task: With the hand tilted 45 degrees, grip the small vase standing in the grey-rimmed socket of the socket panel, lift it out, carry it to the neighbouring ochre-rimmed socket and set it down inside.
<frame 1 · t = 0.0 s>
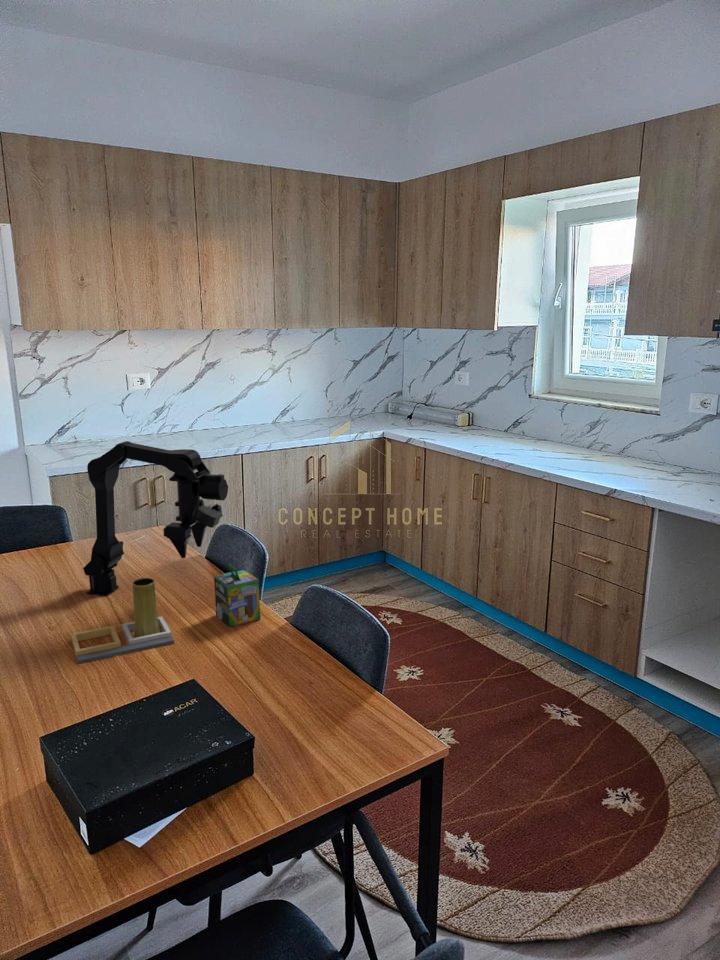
hand: (191, 552, 187), 15 cm above the table, tool pointing down, fingers open, 9 cm apart
vase: (146, 635, 171), resting in socket panel
chalk box: (237, 618, 182), on the table
socket panel: (121, 639, 168), on the table
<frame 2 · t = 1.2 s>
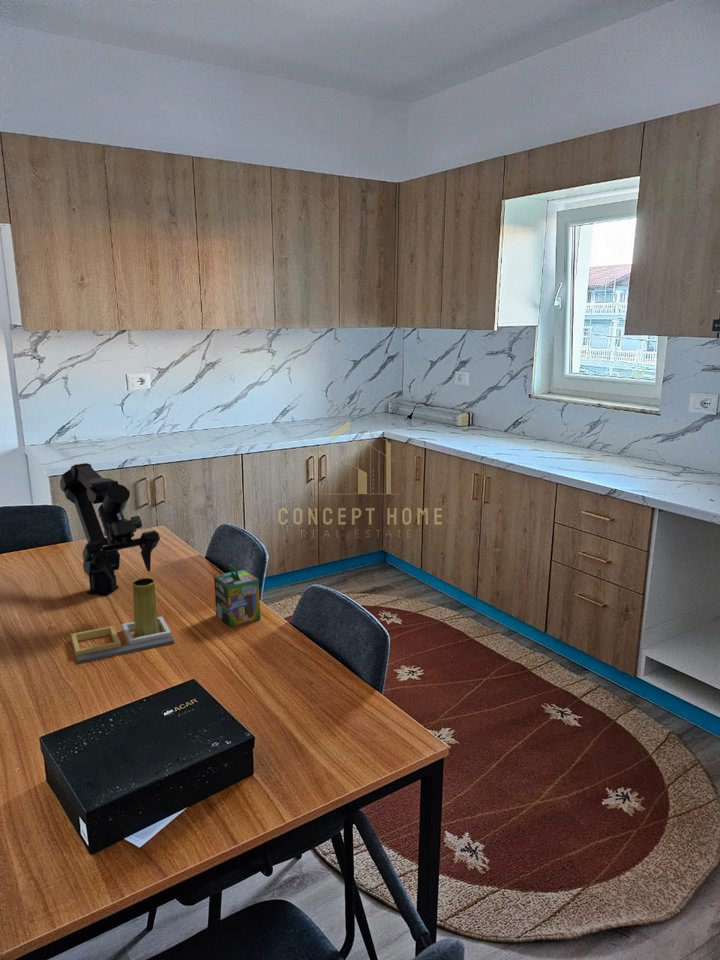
hand: (131, 574, 174), 13 cm above the table, tool tilted 45°, fingers open, 9 cm apart
nothing on the table moved.
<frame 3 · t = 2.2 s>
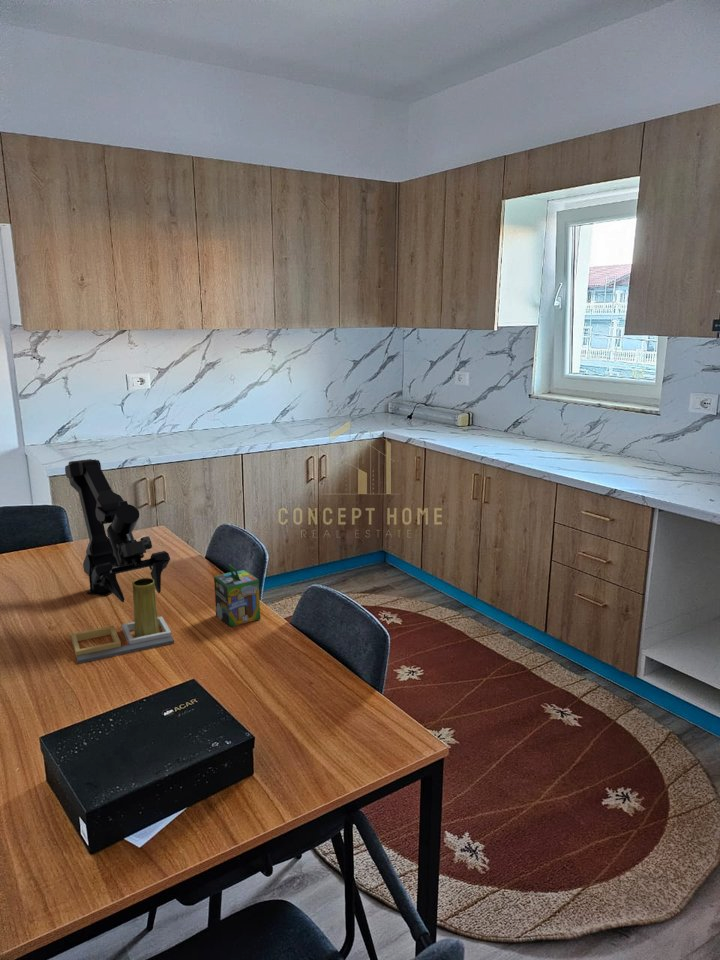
hand: (141, 596, 170), 10 cm above the table, tool tilted 45°, fingers open, 9 cm apart
nothing on the table moved.
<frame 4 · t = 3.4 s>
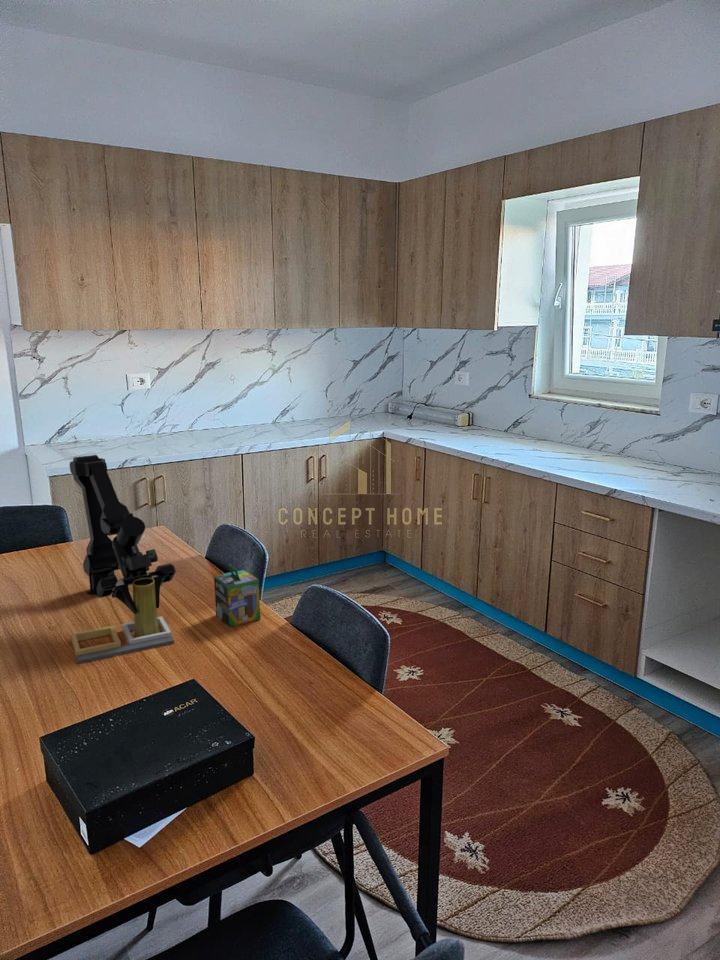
hand: (147, 610, 168), 7 cm above the table, tool tilted 45°, fingers closed on vase, 5 cm apart
vase: (146, 635, 171), resting in socket panel, touching gripper
everything else where it was.
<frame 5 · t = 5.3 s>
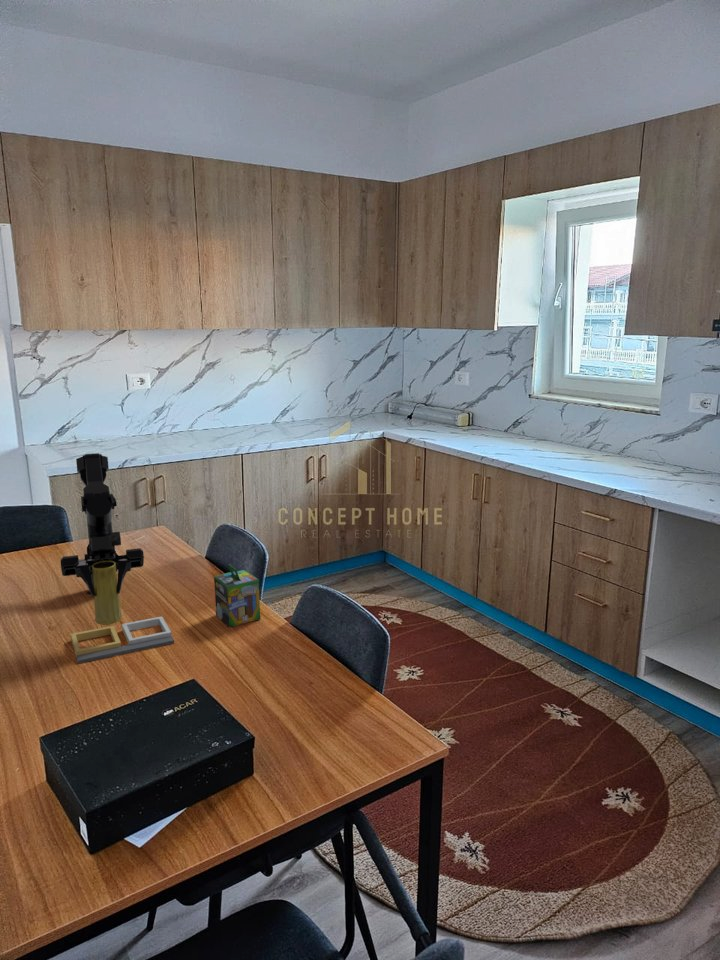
hand: (106, 594, 162), 13 cm above the table, tool tilted 45°, fingers closed on vase, 5 cm apart
vase: (108, 620, 166), point 6 cm above the table, touching gripper
everything else where it was.
when the fingers open (8 cm above the table, at t = 7.0 s): vase stays where it is, resting in socket panel.
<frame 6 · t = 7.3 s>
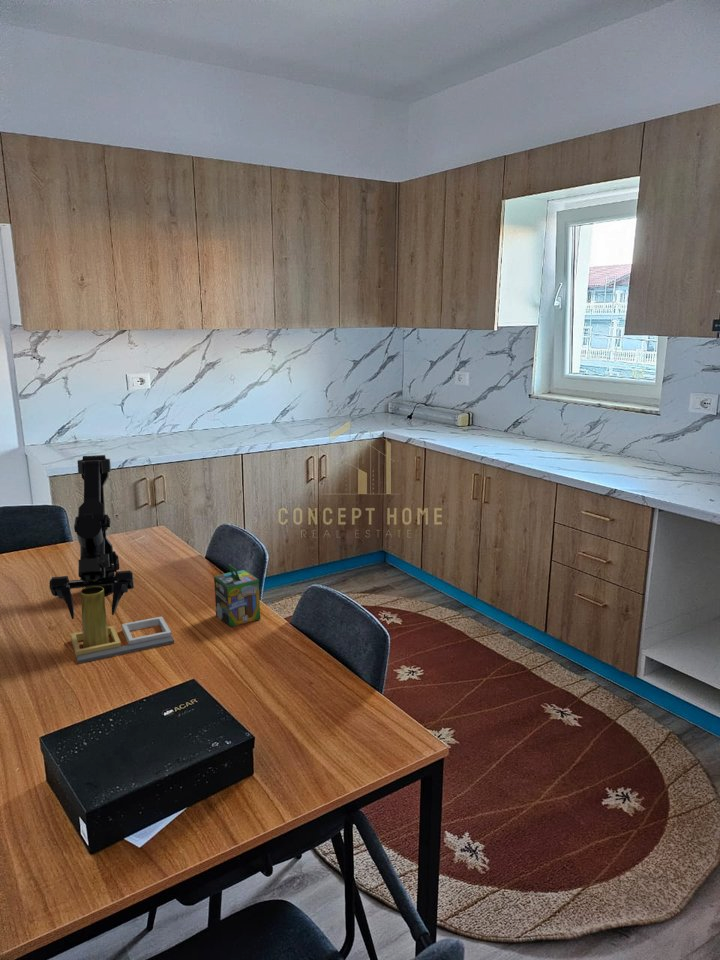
hand: (93, 616, 162), 8 cm above the table, tool tilted 45°, fingers open, 9 cm apart
vase: (96, 645, 166), resting in socket panel
everything else where it was.
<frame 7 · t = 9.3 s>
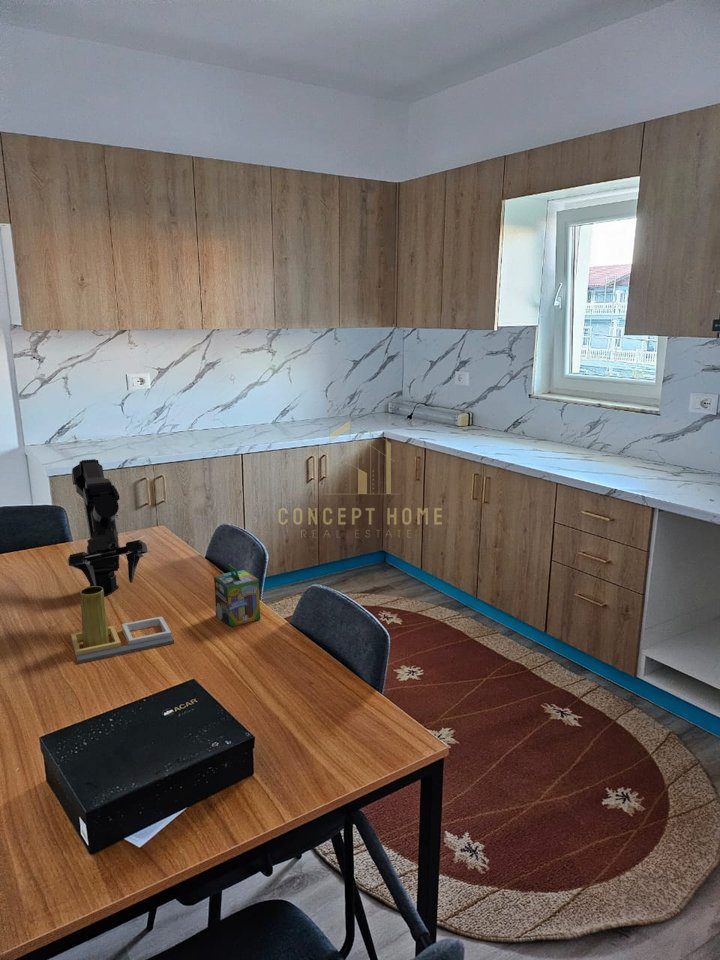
hand: (113, 586, 175), 10 cm above the table, tool tilted 30°, fingers open, 9 cm apart
nothing on the table moved.
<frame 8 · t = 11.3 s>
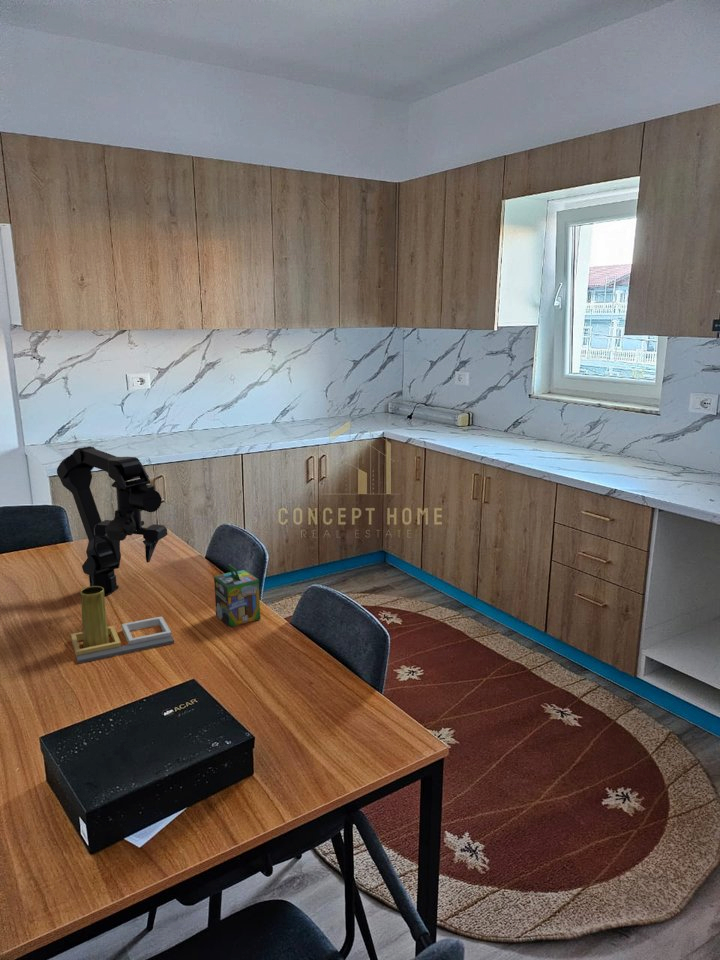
hand: (132, 560, 185), 13 cm above the table, tool pointing down, fingers open, 9 cm apart
nothing on the table moved.
at the end: vase 0.2 cm from the target spot, resting in socket panel; vase tilted 0°; the gripper is holding nothing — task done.
